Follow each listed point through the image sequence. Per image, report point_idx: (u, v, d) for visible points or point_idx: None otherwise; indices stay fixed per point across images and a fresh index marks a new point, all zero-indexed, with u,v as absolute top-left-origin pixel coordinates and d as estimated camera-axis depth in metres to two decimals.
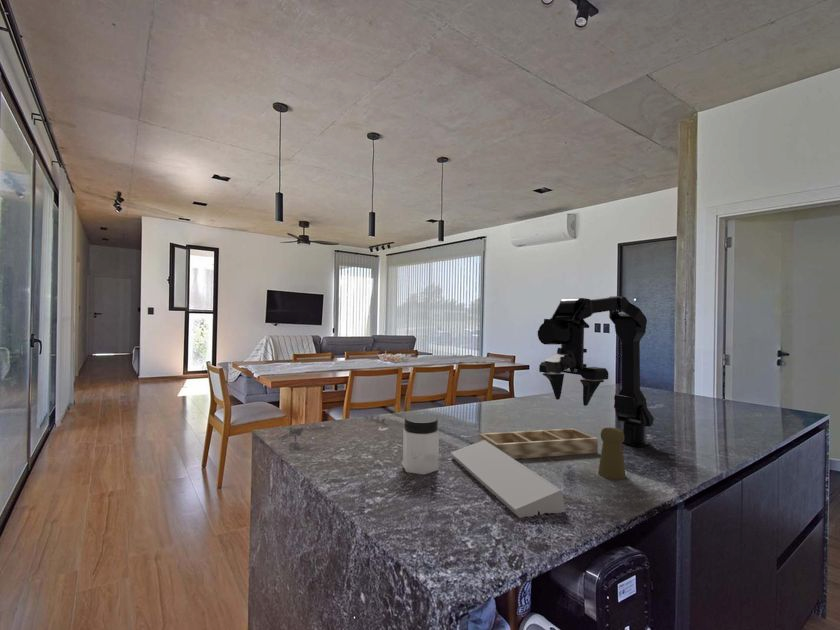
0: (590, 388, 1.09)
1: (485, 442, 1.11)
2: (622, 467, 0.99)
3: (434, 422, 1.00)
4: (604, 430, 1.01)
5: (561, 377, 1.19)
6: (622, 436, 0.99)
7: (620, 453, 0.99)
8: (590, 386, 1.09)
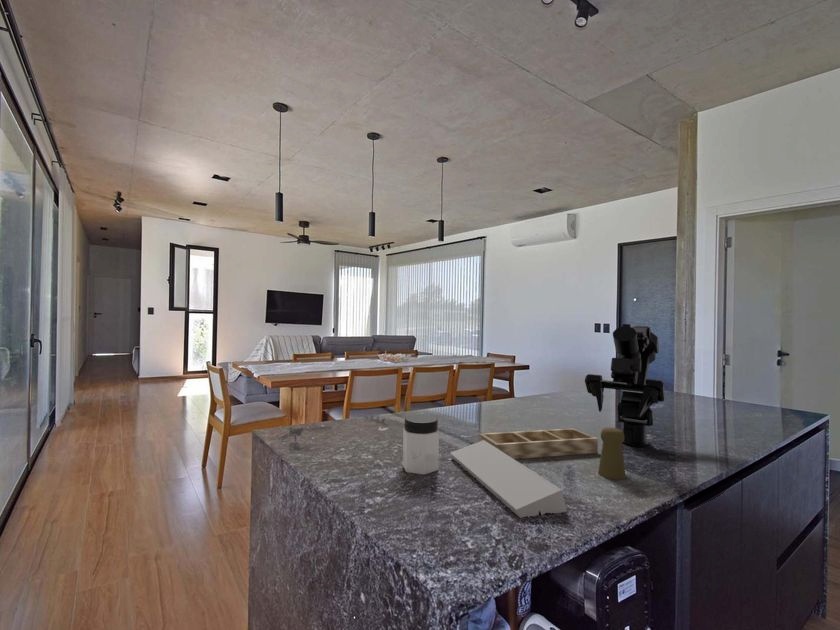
0: (646, 402, 1.07)
1: (484, 442, 1.11)
2: (622, 467, 0.99)
3: (434, 422, 1.00)
4: (604, 430, 1.01)
5: (602, 396, 1.15)
6: (622, 436, 0.99)
7: (620, 453, 0.99)
8: (646, 400, 1.07)
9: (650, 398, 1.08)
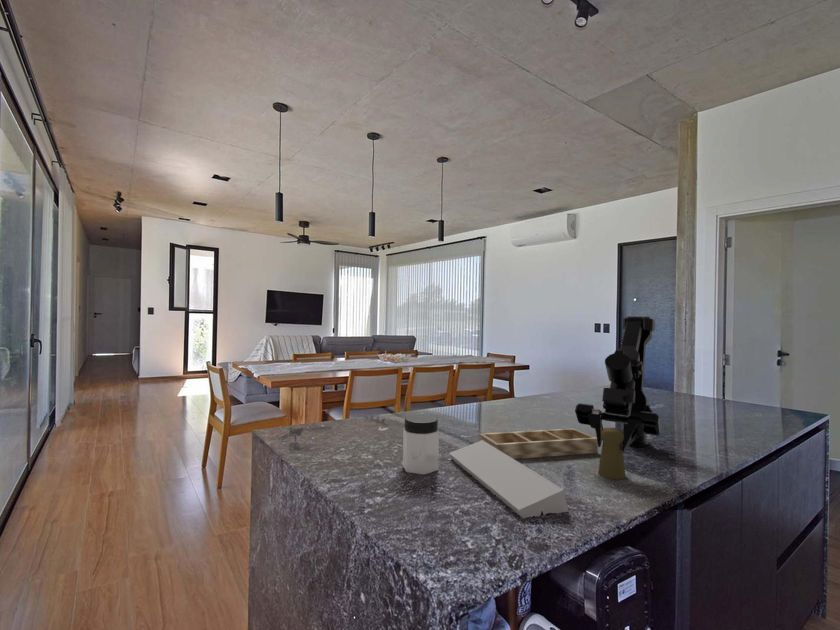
0: (631, 435, 1.00)
1: (483, 442, 1.11)
2: (622, 467, 0.99)
3: (434, 422, 1.00)
4: (604, 430, 1.01)
5: (602, 428, 1.06)
6: (622, 436, 0.99)
7: (620, 453, 0.99)
8: (631, 433, 1.01)
9: (635, 430, 1.01)
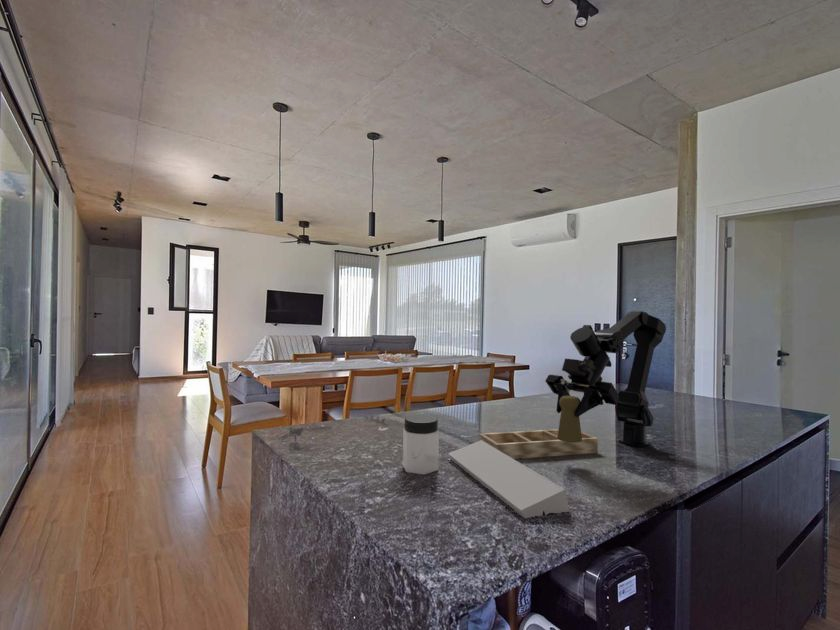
0: (588, 403, 1.07)
1: (482, 442, 1.11)
2: (575, 431, 1.06)
3: (434, 422, 1.00)
4: (561, 397, 1.09)
5: None
6: (576, 403, 1.06)
7: (574, 418, 1.06)
8: (589, 401, 1.07)
9: (594, 399, 1.07)
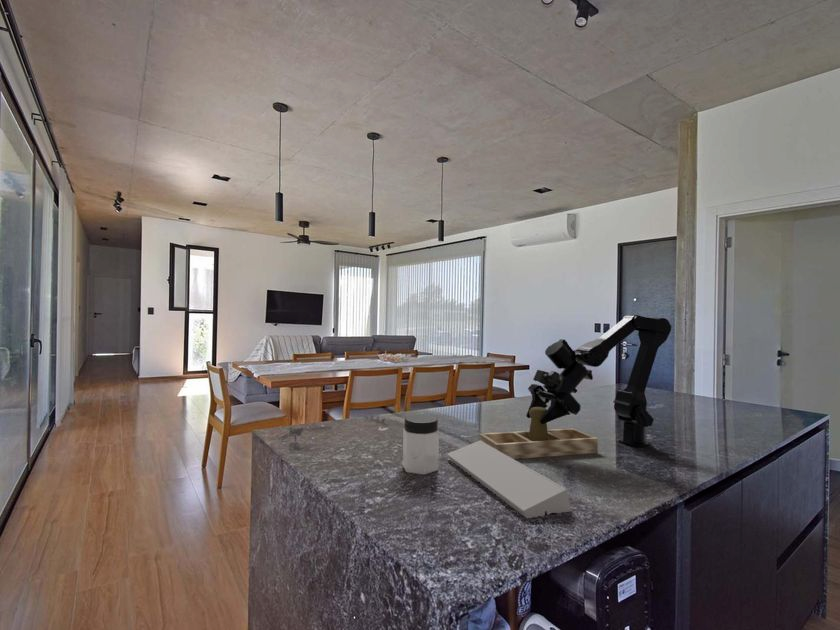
0: (554, 412, 1.15)
1: (481, 442, 1.11)
2: (539, 440, 1.16)
3: (434, 422, 1.00)
4: (531, 408, 1.20)
5: (543, 405, 1.24)
6: (540, 414, 1.17)
7: (539, 428, 1.17)
8: (555, 411, 1.15)
9: (561, 409, 1.15)
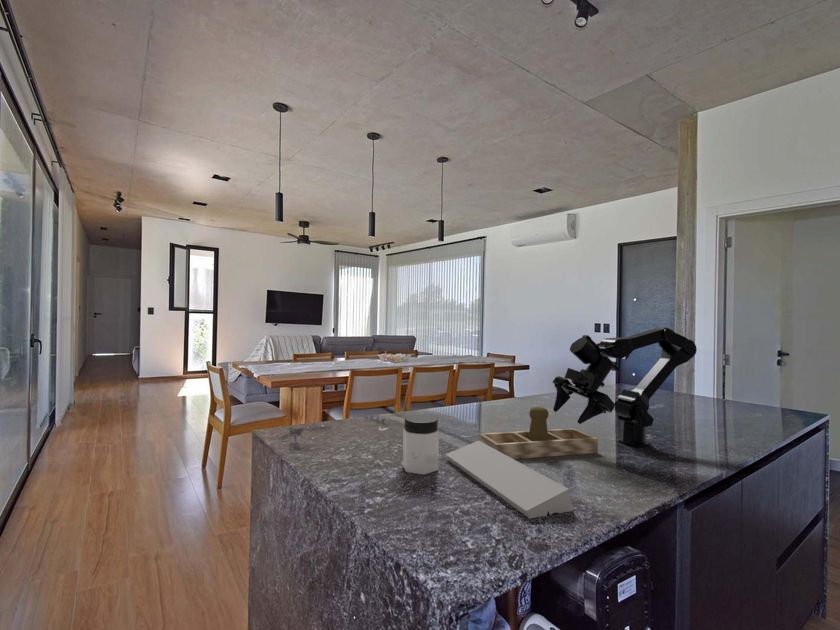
0: (591, 411, 1.17)
1: (480, 443, 1.10)
2: (539, 440, 1.16)
3: (434, 422, 1.00)
4: (531, 408, 1.20)
5: (567, 397, 1.28)
6: (540, 414, 1.17)
7: (539, 428, 1.17)
8: (592, 410, 1.17)
9: (598, 408, 1.17)
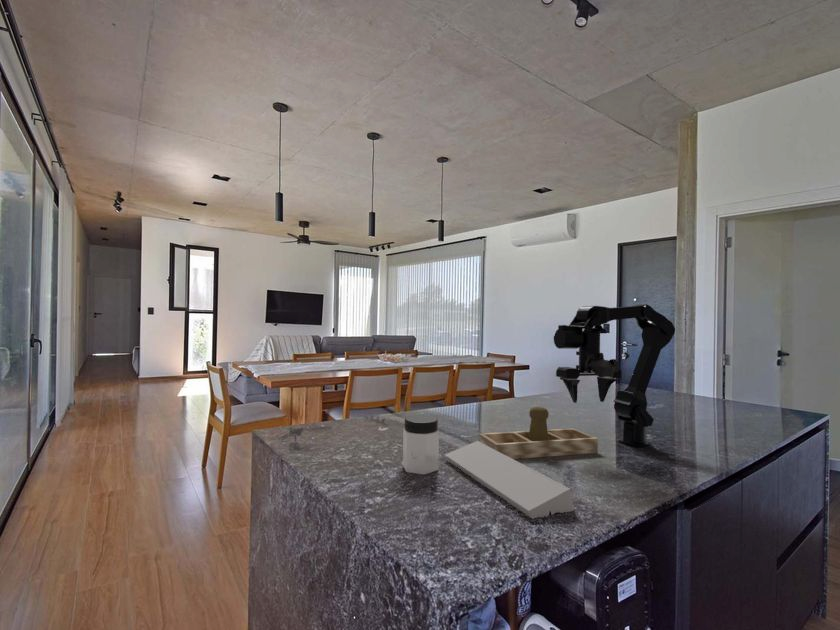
0: None
1: (479, 443, 1.10)
2: (539, 440, 1.16)
3: (434, 422, 1.00)
4: (531, 408, 1.20)
5: None
6: (540, 414, 1.17)
7: (539, 428, 1.17)
8: None
9: None
